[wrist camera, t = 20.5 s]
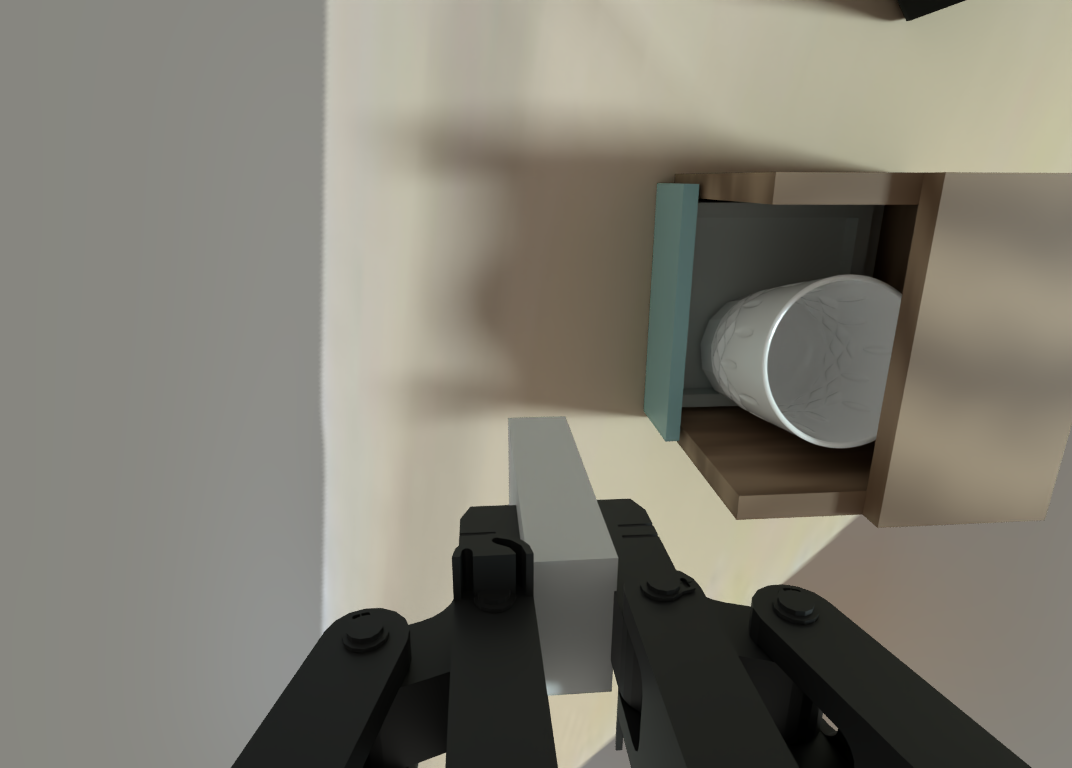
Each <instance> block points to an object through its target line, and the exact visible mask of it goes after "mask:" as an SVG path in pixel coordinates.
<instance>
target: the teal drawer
mask: <svg viewBox="0 0 1072 768" xmlns="http://www.w3.org/2000/svg"><path fill="white" fill-rule="evenodd" d="M698 196H699V184H678V183H657V194H656V211H655V228H654V245H653V262H652V278H651V295H650V312H649V329H648V346H647V363H646V379H645V396H644V412H645V414H646V415H647V416H648V418H649V419H650V421H651V422H652V423H653V425H654V426H655V428H656V429H657V430H658V432H659V433H660V435H661V436H662V437H663V439H664V440H665V441H679V437H680V424H681V412H682V407H714V406H738V405H737V404H735V403H734V402H732V401H730V400H729V399H727V398H726V397H724V396H723V395H721V394H720V393H718V392H717V391H715V390H714V389H713V387H712V385H711V383H710V382H709V380H708V378H707V377H706V375H705V373H704V371H703V370H702V363H701V349H700V343H701V340H702V337H703V335H704V332H705V329H706V327H707V324H708V321H709V320H710V319H711V318H712V317H713V316H714V315H715V314H716V313H717V312H718V311H719V310H720V309H721V308H722V307H723V306H724V305H725V304H726V303H727V302H729V301H731V300H734V299H737V298H740V297H743V296H746V295H749V294H752V293H756V292H759V291H762V290H766V289H771V288H775V287H780V286H783V285H788V284H793V283H799V282H805V281H810V280H816V279H821V278H826V277H832V276H837V275H846V274H855V275H864V276H869V277H872V278H873V272H874V266H875V260H876V254H877V248H878V242H879V236H880V230H881V224H882V218H883V212H884V206H885V205H771V204H760V203H749V202H737V201H698Z"/></svg>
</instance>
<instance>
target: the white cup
mask: <svg viewBox="0 0 1072 768" xmlns="http://www.w3.org/2000/svg"><path fill="white" fill-rule="evenodd" d="M901 298H902V294H901V293H900V292H899V291H898V290H896V289H895V288H894V287H892V286H890V285H889V284H887V283H885V282H883V281H881V280H878V279H875V278H872V277H869V276H864V275H855V274H846V275H837V276H832V277H826V278H821V279H816V280H810V281H805V282H799V283H793V284H788V285H783V286H780V287H775V288H771V289H766V290H762V291H759V292H756V293H752V294H749V295H746V296H743V297H740V298H737V299H734V300H731V301H729V302H727V303H726V304H725V305H724V306H723V307H722V308H721V309H720V310H719V311H718V312H717V313H716V314H715V315H714V316H713V317H712V318H711V319H710V320H709V321H708V324H707V327H706V329H705V332H704V335H703V337H702V340H701V343H700V349H701V363H702V370H703V371H704V373H705V375H706V377H707V378H708V380H709V382H710V383H711V385H712V387H713V389H714V390H715V391H717V392H718V393H720V394H721V395H723V396H724V397H726V398H727V399H729V400H730V401H732V402H734V403H735V404H737V405H738V406H739V407H741V408H743V409H744V410H746V411H748V412H750V413H752V414H753V415H755V416H757V417H759V418H761V419H763V420H765V421H767V422H769V423H771V424H773V425H775V426H777V427H779V428H781V429H783V430H786V431H788V432H790V433H792V434H794V435H796V436H798V437H800V438H802V439H804V440H806V441H808V442H810V443H813V444H816V445H819V446H823V447H829V448H851V447H857V446H861V445H865V444H868V443H870V442H873V441H875V440H876V436H877V431H878V425H879V420H880V414H881V409H882V403H883V398H884V392H885V386H886V381H887V375H888V370H889V364H890V359H891V353H892V348H893V342H894V337H895V331H896V326H897V320H898V315H899V309H900V304H901Z"/></svg>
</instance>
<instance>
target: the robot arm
mask: <svg viewBox="0 0 1072 768" xmlns="http://www.w3.org/2000/svg"><path fill="white" fill-rule="evenodd" d="M508 441H509V505H502V506H477V507H470V508H469V509H468V510H467V512H466V513H465V514H464V515H463V517H462V518H461V519H460V536H459V546H458V547H457V548H456V549H455V551H454V553H453V556H452V570H453V594H454V600H453V601H452V603H451V604H450V605H449V606H448V607H447V608H446V609H445V610H444V611H442V612H441V613H439V614H437V615H436V616H434V617H432V618H429V619H426V620H424V621H421V622H417V623H414V624H410V625H408V623H407V621H406V619H405V618H404V617H402V616H401V615H400V614H398V613H397V612H395V611H391V610H387V609H383V608H371V609H363V610H359V611H355V612H352V613H349V614H347V615H345V616H343V617H341V618H340V619H338V620H336V621H335V622H334V623H333V624H332V625H331V626H330V627H329V628H328V629H327V630H326V631H325V632H324V633H323V635H322V636H321V638H320V639H319V640H318V642H317V644H316V645H315V646H314V648H313V649H312V651H311V652H310V654H309V655H308V656H307V658H306V659H305V661H304V662H303V664H302V665H301V667H300V668H299V670H298V671H297V673H296V674H295V675H294V677H293V678H292V680H291V681H290V683H289V684H288V686H287V687H286V688H285V690H284V691H283V693H282V694H281V696H280V697H279V699H278V700H277V702H276V703H275V704H274V706H273V707H272V709H271V710H270V712H269V713H268V715H267V716H266V718H265V719H264V720H263V722H262V723H261V725H260V726H259V728H258V729H257V731H256V732H255V734H254V735H253V736H252V738H251V739H250V741H249V742H248V744H247V745H246V747H245V748H244V749H243V751H242V753H241V754H240V756H239V757H238V758H237V760H236V761H235V763H234V764H233V765H232V767H231V768H418V763H419V762H422V761H424V760H427V759H430V758H432V757H435V756H438V755H440V754H443V753H446V768H558V765H557V758H556V751H555V744H554V737H553V730H552V723H551V716H550V709H549V702H548V696H549V695H564V694H579V693H594V692H610V691H612V674H613V670H614V674H615V677H616V681H617V685H618V704H617V722H616V750H622V743H623V738H624V741H625V745H626V749H627V753H628V757H629V761H630V765H631V768H1031V767H1030V766H1029V765H1027V764H1026V763H1025V762H1024V761H1023V760H1022V759H1020V758H1019V757H1018V756H1017V755H1015V754H1014V753H1013V752H1012V751H1011V750H1009V749H1008V748H1007V747H1006V746H1004V745H1003V744H1002V743H1001V742H1000V741H998V740H997V739H996V738H995V737H993V736H992V735H991V734H990V733H988V732H987V731H986V730H985V729H984V728H982V727H981V726H980V725H979V724H978V723H976V722H975V721H974V720H973V719H971V718H970V717H969V716H968V715H966V714H965V713H964V712H963V711H962V710H960V709H959V708H958V707H957V706H955V705H954V704H953V703H952V702H951V701H949V700H948V699H947V698H946V697H944V696H943V695H942V694H941V693H940V692H938V691H937V690H936V689H935V688H933V687H932V686H931V685H930V684H929V683H927V682H926V681H925V680H924V679H922V678H921V677H920V676H919V675H918V674H916V673H915V672H914V671H913V670H911V669H910V668H909V667H908V666H907V665H905V664H904V663H903V662H902V661H900V660H899V659H898V658H897V657H895V656H894V655H893V654H892V653H891V652H889V651H888V650H887V649H886V648H884V647H883V646H882V645H881V644H880V643H878V642H877V641H876V640H875V639H873V638H872V637H871V636H870V635H869V634H867V633H866V632H865V631H864V630H862V629H861V628H860V627H859V626H858V625H856V624H855V623H854V622H852V621H851V620H850V619H849V618H848V617H846V616H845V615H844V614H843V613H842V612H840V611H839V610H838V609H837V608H836V607H834V606H833V605H832V604H831V603H829V602H828V601H827V600H825V599H824V598H822V597H820V596H819V595H817V594H815V593H814V592H811V591H808V590H806V589H802V588H800V587H796V586H790V585H783V584H782V585H770V586H766V587H764V588H761V589H759V590H757V592H756V593H755V595H754V596H753V597H752V603H751V607H750V606H744V605H737V604H731V603H725V602H721V601H716V600H712V599H710V598H707V597H706V596H705V594H704V592H703V590H702V589H701V587H700V586H699V585H698V584H697V582H696V581H695V580H694V579H693V578H691V577H690V576H688V575H686V574H684V573H683V572H681V571H677V570H676V569H675V567H674V565H673V563H672V561H671V559H670V557H669V555H668V553H667V551H666V549H665V548H664V546H663V544H662V542H661V540H660V538H659V537H658V534H657V532H656V530H655V528H654V526H652V522H651V520H650V518H649V516H648V514H647V512H646V510H645V509H643V508H642V507H641V506H639V505H638V504H637V503H635V502H634V501H633V500H631V499H610V500H596V497H595V494H594V492H593V489H592V486H591V484H590V481H589V478H588V476H587V473H586V470H585V468H584V465H583V462H582V459H581V457H580V454H579V451H578V449H577V446H576V443H575V441H574V438H573V435H572V433H571V430H570V427H569V425H568V422H567V419H566V417H565V416H560V417H525V418H508ZM823 713H824V714H825V715H826V716H827V717H828V718H829V719H830V720H831V721H832V722H833V723H834V724H835V725H836V726H837V728H838V731H835V730H834V729H833V728H832V727H831V726H829V725H828V724H827V723H826V721H825V720H824V719H823V718H822V715H823Z"/></svg>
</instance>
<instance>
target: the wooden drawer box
mask: <svg viewBox="0 0 1072 768" xmlns="http://www.w3.org/2000/svg"><path fill="white" fill-rule="evenodd" d="M675 183H678V184H699V196H698V198H703V199H714V200H726V201H737V202H749V203H760V204H771V205H885V206H884V212H883V218H882V224H881V230H880V236H879V242H878V248H877V254H876V260H875V266H874V272H873V278H875V279H878V280H881V281H883V282H885V283H887V284H889V285H890V286H892V287H894V288H895V289H896V290H898V291H899V292H900V293H901V294H902V298H901V304H900V309H899V315H898V320H897V326H896V331H895V337H894V342H893V348H892V353H891V359H890V364H889V370H888V375H887V381H886V386H885V392H884V398H883V403H882V409H881V414H880V420H879V425H878V431H877V436H876V440H875V441H873V442H870V443H868V444H865V445H861V446H857V447H851V448H829V447H823V446H819V445H816V444H813V443H810V442H808V441H806V440H804V439H802V438H800V437H798V436H796V435H794V434H792V433H790V432H788V431H786V430H783V429H781V428H779V427H777V426H775V425H773V424H771V423H769V422H767V421H765V420H763V419H761V418H759V417H757V416H755V415H753V414H752V413H750V412H748V411H746V410H744V409H743V408H741V407H739V406H714V407H682V412H681V424H680V437H679V441H677V442H678V444H679V445H680V446H681V448H682V449H683V450H684V451H685V453H686V454H687V455H688V457H689V458H690V459H691V461H692V462H693V463H694V465H695V466H696V467H697V469H698V470H699V471H700V472H701V474H702V475H703V476H704V478H705V479H706V480H707V482H708V483H709V484H710V486H711V487H712V488H713V490H714V491H715V492H716V493H717V495H718V496H719V497H720V499H721V500H722V501H723V503H724V504H725V505H726V507H727V508H728V509H729V510H730V512H731V513H732V514H733V516H734V517H735V518H736V520H744V519H767V518H790V517H813V516H836V515H860V514H862V515H864V516H865V517H866V518H867V519H868V520H869V521H870V522H872V523H873V524H874V525H875V526H876V527H877V528H886V527H908V526H931V525H953V524H974V523H996V522H1019V521H1041V520H1045V517H1046V514H1047V510H1048V507H1049V503H1050V499H1051V496H1052V492H1053V489H1054V485H1055V482H1056V478H1057V475H1058V471H1059V467H1060V464H1061V460H1062V457H1063V453H1064V450H1065V446H1066V443H1067V439H1068V436H1069V432H1070V429H1071V425H1072V173H956V172H942V173H879V172H753V173H709V174H675Z"/></svg>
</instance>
